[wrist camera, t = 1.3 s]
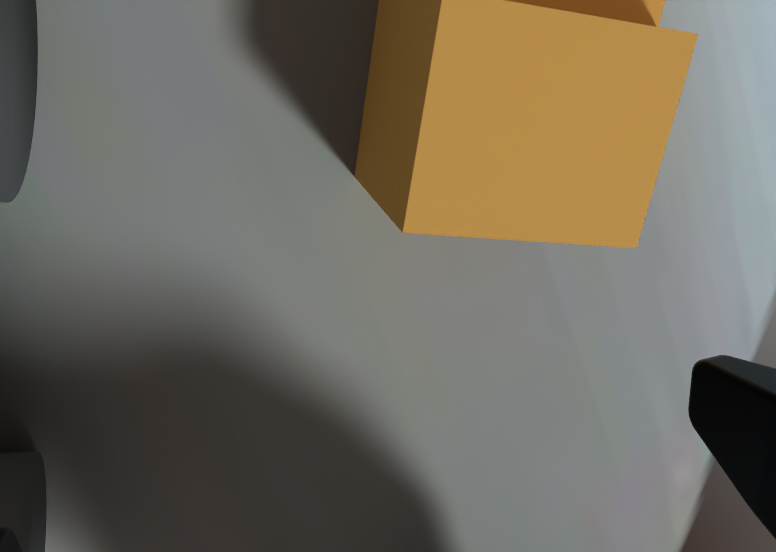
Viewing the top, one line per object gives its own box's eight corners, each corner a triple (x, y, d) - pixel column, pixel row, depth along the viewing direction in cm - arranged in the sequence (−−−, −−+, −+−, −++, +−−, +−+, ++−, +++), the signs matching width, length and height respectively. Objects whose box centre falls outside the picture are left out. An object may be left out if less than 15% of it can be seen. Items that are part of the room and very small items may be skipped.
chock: (397, -148, 18) (472, -187, 13) (611, -99, 19) (741, -119, 15) (352, 174, 20) (402, 232, 16) (543, 191, 22) (636, 248, 18)
